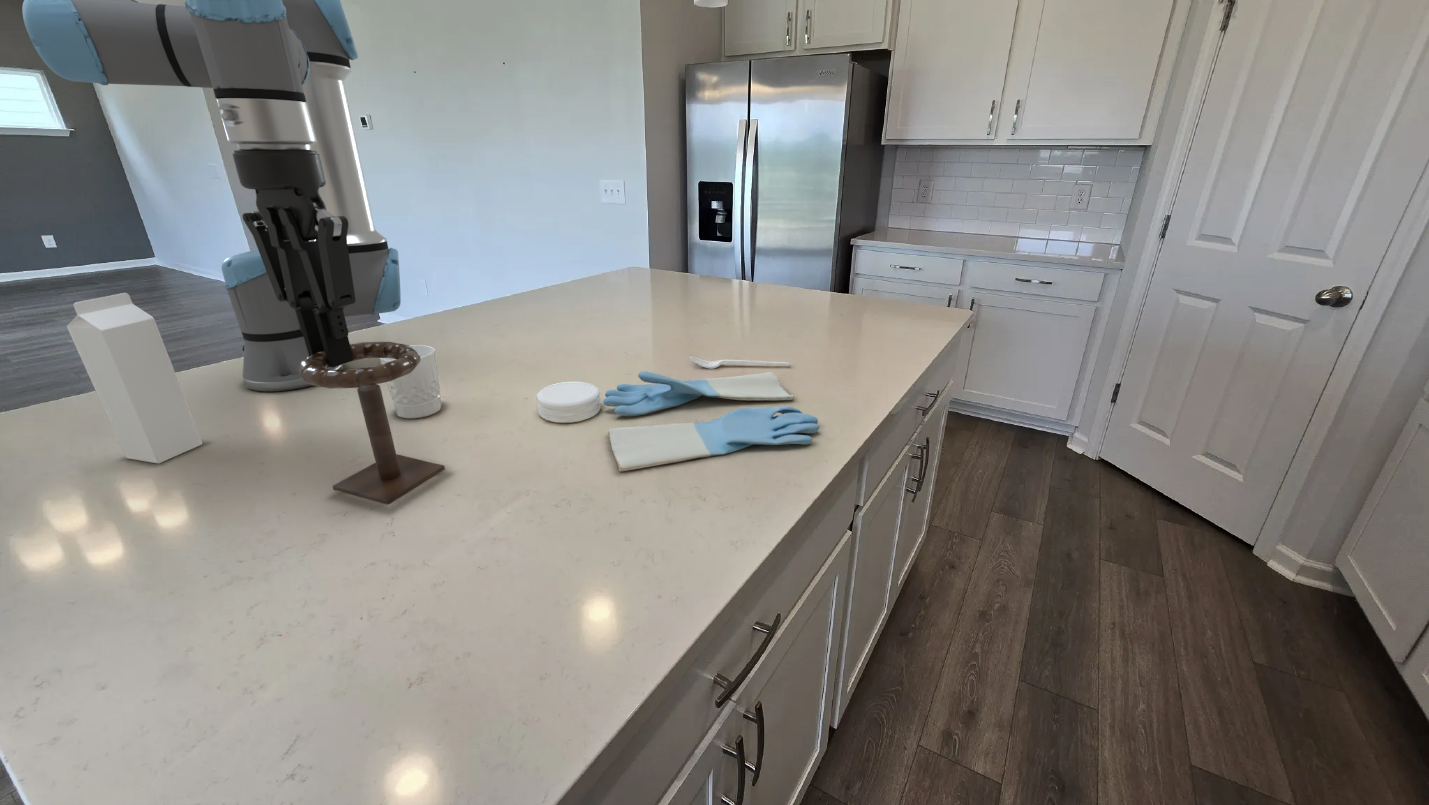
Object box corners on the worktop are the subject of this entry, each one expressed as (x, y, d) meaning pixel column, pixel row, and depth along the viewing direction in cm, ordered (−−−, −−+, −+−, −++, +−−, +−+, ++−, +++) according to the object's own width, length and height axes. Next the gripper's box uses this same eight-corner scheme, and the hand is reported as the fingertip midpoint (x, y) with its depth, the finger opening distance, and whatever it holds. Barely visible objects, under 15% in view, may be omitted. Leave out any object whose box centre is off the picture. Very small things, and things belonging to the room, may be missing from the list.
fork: (790, 369, 115) (790, 360, 114) (689, 368, 115) (688, 359, 114) (788, 364, 118) (789, 355, 117) (690, 362, 118) (689, 354, 117)
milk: (125, 459, 80) (52, 301, 72) (172, 439, 86) (110, 290, 77) (159, 464, 79) (88, 304, 70) (204, 444, 84) (144, 293, 76)
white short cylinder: (526, 411, 96) (524, 391, 94) (577, 394, 103) (576, 375, 101) (561, 430, 90) (559, 409, 88) (613, 410, 96) (611, 391, 95)
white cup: (425, 422, 92) (412, 362, 88) (381, 418, 93) (367, 358, 89) (455, 403, 99) (445, 346, 95) (414, 399, 100) (402, 343, 96)
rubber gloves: (838, 443, 86) (842, 403, 84) (618, 473, 78) (615, 430, 75) (770, 378, 110) (772, 346, 108) (596, 396, 102) (593, 361, 99)
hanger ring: (276, 380, 65) (271, 363, 64) (369, 350, 76) (366, 335, 75) (356, 397, 61) (352, 380, 61) (442, 363, 72) (440, 347, 71)
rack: (335, 496, 72) (305, 395, 67) (395, 462, 80) (372, 370, 75) (389, 511, 69) (363, 407, 64) (446, 475, 77) (427, 380, 72)
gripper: (187, 146, 60) (257, 363, 69) (291, 147, 55) (351, 381, 64) (261, 147, 66) (316, 345, 76) (361, 148, 61) (406, 360, 71)
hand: (332, 361), depth 70 cm, fingers closed on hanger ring, 2 cm apart
